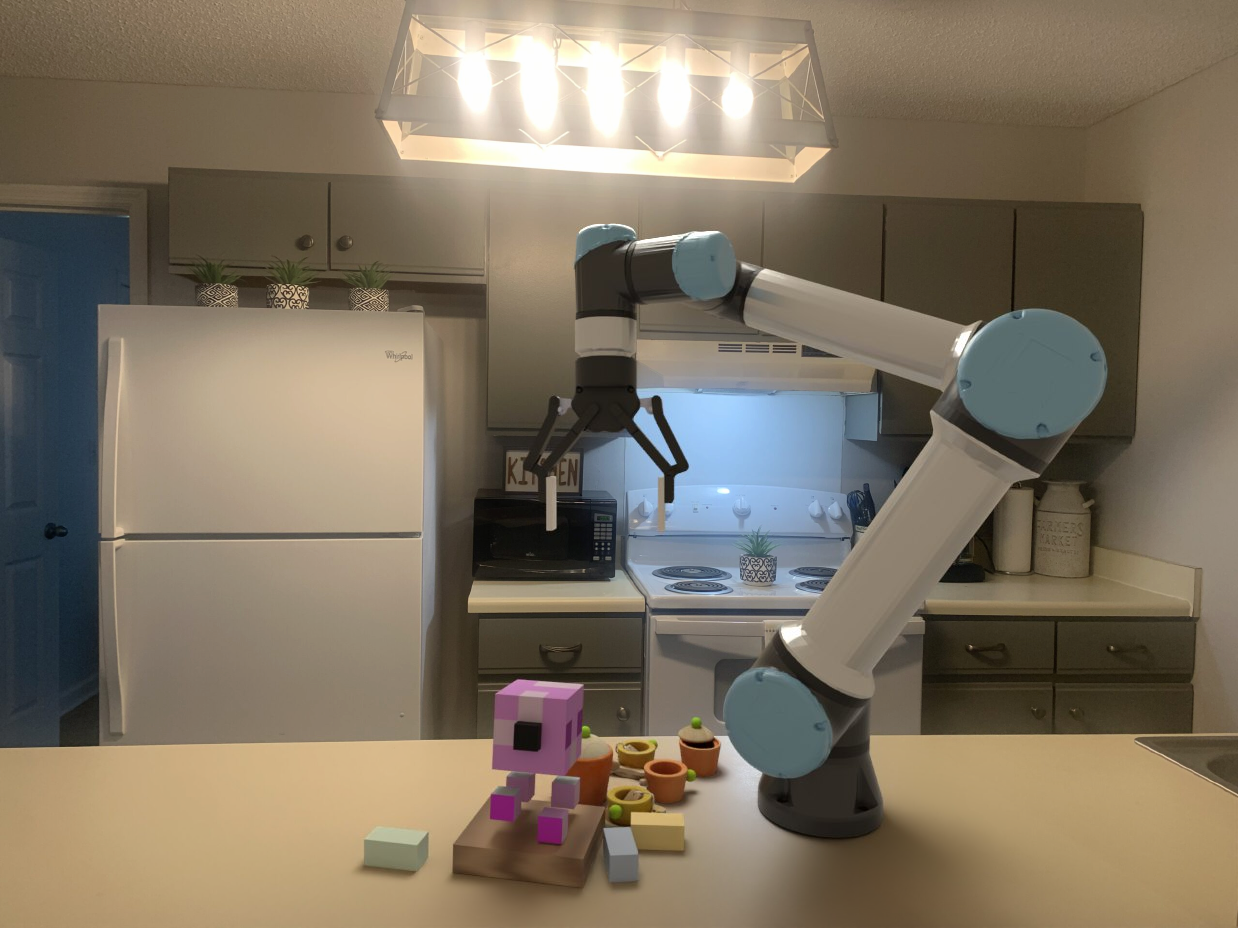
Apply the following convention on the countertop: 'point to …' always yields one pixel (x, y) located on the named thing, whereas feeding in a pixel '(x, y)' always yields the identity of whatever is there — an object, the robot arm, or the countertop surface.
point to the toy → (537, 750)
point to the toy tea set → (642, 772)
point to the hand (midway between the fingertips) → (606, 530)
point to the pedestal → (530, 846)
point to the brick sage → (396, 848)
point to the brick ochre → (658, 831)
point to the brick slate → (620, 854)
